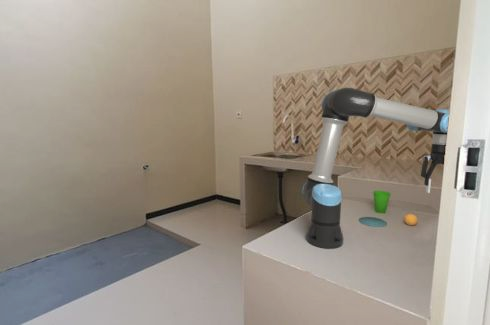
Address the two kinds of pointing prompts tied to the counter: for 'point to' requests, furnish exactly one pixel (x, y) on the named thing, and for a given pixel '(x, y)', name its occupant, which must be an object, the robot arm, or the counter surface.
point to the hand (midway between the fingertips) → (436, 192)
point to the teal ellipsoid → (372, 221)
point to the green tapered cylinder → (381, 201)
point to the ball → (410, 219)
